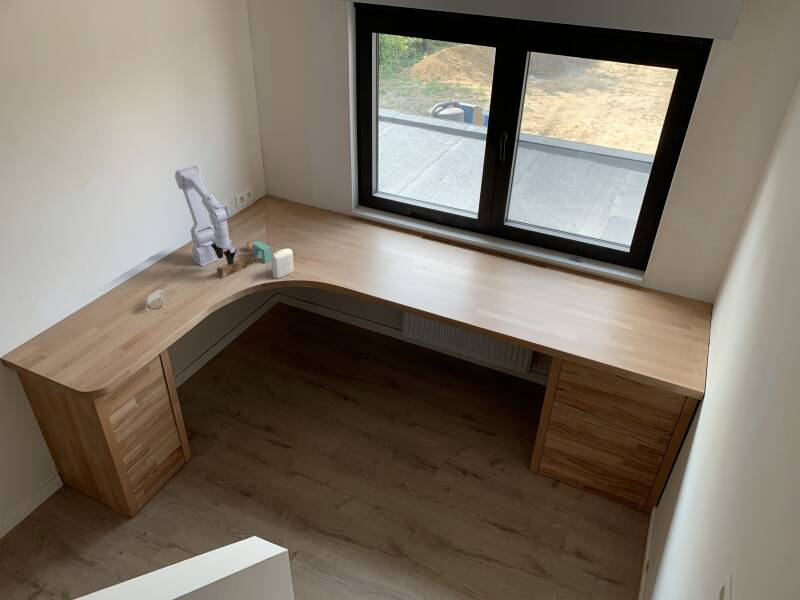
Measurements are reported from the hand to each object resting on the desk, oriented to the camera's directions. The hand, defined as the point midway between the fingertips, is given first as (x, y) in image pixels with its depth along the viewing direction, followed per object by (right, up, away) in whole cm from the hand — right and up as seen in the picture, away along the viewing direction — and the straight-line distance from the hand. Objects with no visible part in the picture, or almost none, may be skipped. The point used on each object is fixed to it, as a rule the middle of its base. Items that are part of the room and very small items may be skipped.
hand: (225, 260), depth 278 cm
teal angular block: (+13, +2, +16) cm, 21 cm away
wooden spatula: (+3, -4, +7) cm, 8 cm away
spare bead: (+6, +7, +23) cm, 24 cm away
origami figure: (-23, -20, -18) cm, 35 cm away
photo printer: (+25, -6, +6) cm, 26 cm away
